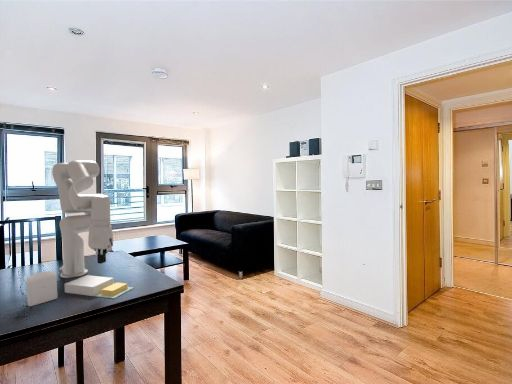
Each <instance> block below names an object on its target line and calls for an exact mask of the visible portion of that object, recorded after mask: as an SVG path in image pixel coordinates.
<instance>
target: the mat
mask: <svg viewBox="0 0 512 384" xmlns="http://www.w3.org/2000/svg"><path fill="white" fill-rule="evenodd" d="M133 289H134V287H132V286H127V288H126V289H124V290H122V291H120V292H119V293H117V294H115V295H105V294H102V292H100V293H98V294H96V295H94V296H93V297H95V298H96V297H98V298H105V299H114V300H115V299H116V298H118V297H120V296H123V295H124V294H126V293H127V292H129V291H131V290H133Z"/></svg>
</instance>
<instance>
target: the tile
mask: <svg viewBox="0 0 512 384" xmlns="http://www.w3.org/2000/svg"><path fill="white" fill-rule="evenodd" d="M127 287H128V283H124V282H114V284H112V285H110V286H108V287H106V288H104V289H102V290H101V292H102V294H105V295H115V294H117V293H119V292H120V291H122V290H124V289H126V288H127Z"/></svg>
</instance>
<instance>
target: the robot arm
mask: <svg viewBox="0 0 512 384" xmlns="http://www.w3.org/2000/svg"><path fill="white" fill-rule="evenodd" d="M51 170H52V172H51V173H52V178H53V181H54V183H55V184H56V187H57V190H58V196H59V203H60V204H59V205H60V210H61V212H62V213H63V214H76V215H68V216H65V217H62V218H61V219H60V221H59V229H60V233H61V241H62V261H63V265H61V267H59V271H62V272H61V273H60V278H61V279H62V278H64V279H72V278H79V277H83V276H86V274H87V275H88V272H89V270H88V269H87V268H85V267H86V266H85V244H84V240H83V238H82V236H80V234H81V233H87V232H88V236H87V237H88V240H87V242H88V243H87V245H88V247H89V248H90V249H91V250H93V251H94V252H95V254H96V255H97V256H96V257H97V258H96V259H97V264H100V265H101V264H103V263H106V262H107V259H106V258H107V257H106V256H107V253H108V252H111V251H113V246H114V235H113V234H114V233H113V229H112V225H111V198H110V196H109V195H105V194H103V193H94V194H92V193H89V194H88V193H85V194H84V193H83V194H79V193H82V192H84V191H87V190H88V189H90V188H91V187H92V186H93V185H94V178H96V177H99V175H100V170H101V169H100V166H99V163H97V161H94V160H83V159H82V160H81V159H79V160H78V159H77V160H76V159H74V160H71V161H69V162H58V163H55V164H54V165H53V166H52V169H51ZM81 213H84V214H81ZM77 214H78V215H77Z"/></svg>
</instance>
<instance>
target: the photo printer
mask: <svg viewBox="0 0 512 384" xmlns="http://www.w3.org/2000/svg"><path fill="white" fill-rule="evenodd" d="M57 281H58V280H57V274H56V272H55V271H50V270H49V271H41V272H38V273H35V274H32V275H30V276H28V277H27V278H26V296H27V297H26V299H27V306H28V307H33V306H36V305H40V304H42V303H46V302H49V301H54V300H57V299H58V298H59V297H58V282H57Z"/></svg>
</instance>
